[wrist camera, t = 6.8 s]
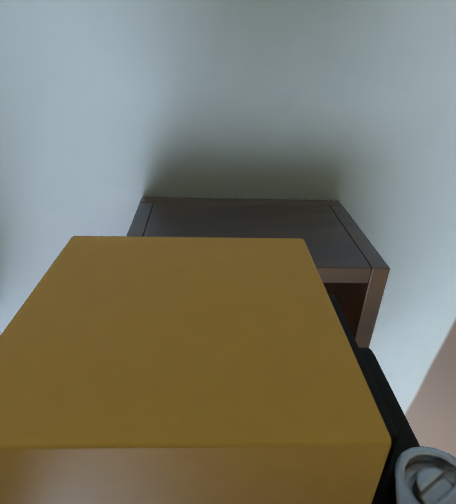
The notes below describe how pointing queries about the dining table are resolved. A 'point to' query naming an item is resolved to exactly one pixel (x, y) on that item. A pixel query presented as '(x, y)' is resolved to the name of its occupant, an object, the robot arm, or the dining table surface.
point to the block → (184, 380)
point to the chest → (284, 226)
